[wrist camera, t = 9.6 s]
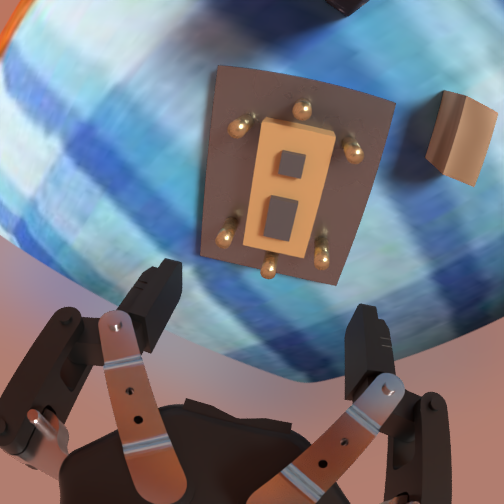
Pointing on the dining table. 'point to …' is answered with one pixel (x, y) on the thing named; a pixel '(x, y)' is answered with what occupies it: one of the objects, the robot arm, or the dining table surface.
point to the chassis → (244, 157)
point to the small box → (346, 5)
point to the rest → (461, 137)
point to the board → (287, 185)
